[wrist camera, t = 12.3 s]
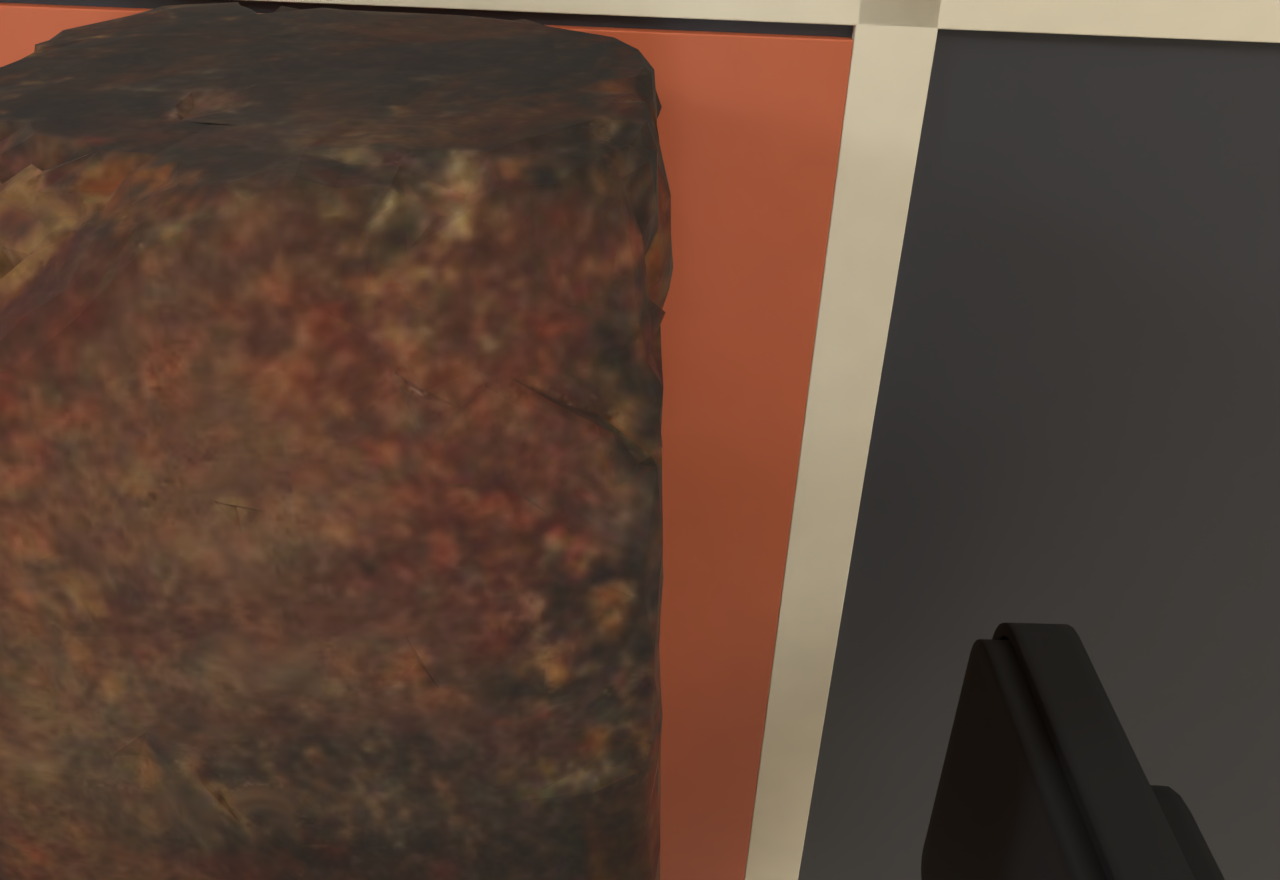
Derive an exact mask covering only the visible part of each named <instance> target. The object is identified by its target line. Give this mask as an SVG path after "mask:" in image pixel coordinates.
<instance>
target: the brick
mask: <svg viewBox="0 0 1280 880" xmlns="http://www.w3.org/2000/svg"><path fill="white" fill-rule="evenodd" d="M661 108H662V106H661V104H660V101H659V98H658V95H657V92H656V86H655V72H654V69H653V67H652V66H651V65H650V64H649V62H648V61H647V60H646V58H645V57H644V56H643V55H642V53H641V52H640V51H639V50H638V49H636V48H634V47H632V46H630V45H628V44H626V43H624V42H622V41H620V40H618V39H616V38H614V37H609V36H603V35H598V34H592V33H586V32H580V31H574V30H568V29H562V28H556V27H550V26H546V25H543V24H539V23H536V22H533V21H529V20H526V19H521V20H502V19H493V18H483V17H474V16H464V15H444V14H423V13H401V12H378V11H356V10H341V9H332V8H314V9H304V10H300V9H295V8H290V7H285V6H281V7H280V8H278V9H277V10H276V11H275V12H273V13H263V14H258V13H256V12H255V11H253V10H251V9H249V8H246V7H243V6H241V5H240V4H239V2H230V3H207V4H185V5H168V6H161V7H158V8H155V9H151V10H148V11H145V12H142V13H138V14H134V15H130V16H125V17H121V18H117V19H112V20H108V21H103V22H98V23H94V24H89V25H85V26H80V27H75V28H71V29H66V30H62V31H61V32H60V33H58V34H57V35H56V36H54V37H53V38H52V39H50V40H48V41H45V42H42V43H38V44H35V50H34V52H33V53H32V54H30V55H28V56H26V57H24V58H22V59H21V60H18V61H16V62H13V63H10V64H8V65H5V66H3V67H0V880H660V827H661V735H662V718H663V713H662V700H661V677H660V654H659V639H660V619H661V604H662V591H663V579H664V577H663V495H662V447H663V446H662V435H661V427H662V407H663V388H664V387H663V371H662V355H661V322H662V320H663V317H664V315H665V313H666V312H665V311H663V310H662V309H663V306H664V303H665V300H666V297H667V294H668V291H669V288H670V283H671V277H672V272H673V256H672V240H671V193H670V189H669V184H668V180H667V175H666V171H665V166H664V162H663V157H662V153H661V148H660V144H659V135H658V128H657V118H658V116H659V113H660V111H661Z"/></svg>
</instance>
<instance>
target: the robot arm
mask: <svg viewBox="0 0 1280 880" xmlns="http://www.w3.org/2000/svg"><path fill="white" fill-rule="evenodd" d="M921 880H1225V879H1224V877H1223V875H1222V873H1221V871H1220V869H1219V867H1218V865H1217V863H1216V861H1215V859H1214V857H1213V855H1212V853H1211V851H1210V849H1209V847H1208V845H1207V843H1206V841H1205V839H1204V837H1203V835H1202V833H1201V831H1200V829H1199V827H1198V825H1197V823H1196V821H1195V819H1194V817H1193V815H1192V813H1191V811H1190V810H1189V808H1188V807H1187V805H1186V804H1185V802H1184V801H1183V799H1182V797H1181V796H1180V795H1179V794H1178V793H1177V792H1175V791H1174V790H1173V789H1171V788H1170V787H1169V786H1160V785H1150V784H1149V782H1148V780H1147V777H1146V775H1145V773H1144V771H1143V769H1142V767H1141V765H1140V763H1139V761H1138V759H1137V757H1136V754H1135V752H1134V750H1133V748H1132V746H1131V744H1130V742H1129V740H1128V738H1127V736H1126V733H1125V731H1124V729H1123V727H1122V725H1121V723H1120V721H1119V719H1118V717H1117V715H1116V713H1115V710H1114V708H1113V706H1112V704H1111V702H1110V700H1109V698H1108V696H1107V694H1106V692H1105V690H1104V687H1103V685H1102V683H1101V681H1100V679H1099V677H1098V675H1097V673H1096V671H1095V669H1094V666H1093V664H1092V662H1091V660H1090V658H1089V656H1088V654H1087V652H1086V650H1085V648H1084V646H1083V643H1082V641H1081V639H1080V637H1079V635H1078V634H1077V632H1076V631H1075V629H1074V628H1073V627H1071V626H1070V625H1068V624H1042V623H1006V622H1005V623H1001V624H999V626H998V627H997V628H996V630H995V632H994V635H993V638H992V639H978V640H976V641H975V642H974V644H973V646H972V649H971V652H970V656H969V660H968V664H967V668H966V673H965V677H964V681H963V685H962V689H961V693H960V698H959V702H958V706H957V710H956V714H955V718H954V722H953V727H952V731H951V735H950V739H949V743H948V747H947V752H946V756H945V760H944V764H943V768H942V772H941V776H940V781H939V785H938V789H937V793H936V797H935V801H934V806H933V810H932V814H931V818H930V822H929V826H928V830H927V835H926V839H925V843H924V847H923V852H922V860H921Z"/></svg>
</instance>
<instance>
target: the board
mask: <svg viewBox="0 0 1280 880" xmlns="http://www.w3.org/2000/svg"><path fill="white" fill-rule="evenodd" d="M230 2H239V4H240V5H241V6H243V7H246V8H249V9H251V10H253V11H255V12H256V13H258V14H263V13H273V12H275V11H276V10H277V9H278V8H280V7H281V6H285V7H290V8H295V9H300V10H304V9H314V8H332V9H341V10H356V11H378V12H401V13H423V14H444V15H464V16H474V17H483V18H493V19H502V20H521V19H526V20H529V21H533V22H536V23H539V24H543V25H546V26H550V27H556V28H562V29H568V30H574V31H580V32H586V33H592V34H598V35H603V36H609V37H614V38H616V39H618V40H620V41H622V42H624V43H626V44H628V45H630V46H632V47H634V48H636V49H638V50H639V51H640V52H641V53H642V55H643V56H644V57H645V58H646V60H647V61H648V62H649V64H650V65H651V66H652V67H653V69H654V72H655V86H656V92H657V95H658V98H659V101H660V104H661V106H662V108H661V111H660V113H659V116H658V118H657V128H658V135H659V144H660V148H661V153H662V157H663V162H664V166H665V171H666V175H667V180H668V184H669V189H670V193H671V240H672V256H673V272H672V277H671V283H670V288H669V291H668V294H667V297H666V300H665V303H664V306H663V309H662V310H663V311H665V312H666V313H665V315H664V317H663V320H662V322H661V355H662V371H663V387H664V388H663V407H662V427H661V435H662V446H663V447H662V495H663V577H664V579H663V591H662V604H661V619H660V639H659V654H660V677H661V700H662V713H663V718H662V735H661V827H660V880H921V860H922V852H923V847H924V843H925V839H926V835H927V830H928V826H929V822H930V818H931V814H932V810H933V806H934V801H935V797H936V793H937V789H938V785H939V781H940V776H941V772H942V768H943V764H944V760H945V756H946V752H947V747H948V743H949V739H950V735H951V731H952V727H953V722H954V718H955V714H956V710H957V706H958V702H959V698H960V693H961V689H962V685H963V681H964V677H965V673H966V668H967V664H968V660H969V656H970V652H971V649H972V646H973V644H974V642H975V641H976V640H978V639H992V638H993V635H994V632H995V630H996V628H997V627H998V626H999V624H1001V623H1005V622H1006V623H1042V624H1068V625H1070V626H1071V627H1073V628H1074V629H1075V631H1076V632H1077V634H1078V635H1079V637H1080V639H1081V641H1082V643H1083V646H1084V648H1085V650H1086V652H1087V654H1088V656H1089V658H1090V660H1091V662H1092V664H1093V666H1094V669H1095V671H1096V673H1097V675H1098V677H1099V679H1100V681H1101V683H1102V685H1103V687H1104V690H1105V692H1106V694H1107V696H1108V698H1109V700H1110V702H1111V704H1112V706H1113V708H1114V710H1115V713H1116V715H1117V717H1118V719H1119V721H1120V723H1121V725H1122V727H1123V729H1124V731H1125V733H1126V736H1127V738H1128V740H1129V742H1130V744H1131V746H1132V748H1133V750H1134V752H1135V754H1136V757H1137V759H1138V761H1139V763H1140V765H1141V767H1142V769H1143V771H1144V773H1145V775H1146V777H1147V780H1148V782H1149V784H1150V785H1160V786H1169V787H1170V788H1171V789H1173V790H1174V791H1175V792H1177V793H1178V794H1179V795H1180V796H1181V797H1182V799H1183V801H1184V802H1185V804H1186V805H1187V807H1188V808H1189V810H1190V811H1191V813H1192V815H1193V817H1194V819H1195V821H1196V823H1197V825H1198V827H1199V829H1200V831H1201V833H1202V835H1203V837H1204V839H1205V841H1206V843H1207V845H1208V847H1209V849H1210V851H1211V853H1212V855H1213V857H1214V859H1215V861H1216V863H1217V865H1218V867H1219V869H1220V871H1221V873H1222V875H1223V877H1224V879H1225V880H1280V0H0V67H3V66H5V65H8V64H10V63H13V62H16V61H18V60H21V59H22V58H24V57H26V56H28V55H30V54H32V53H33V52H34V50H35V44H38V43H42V42H45V41H48V40H50V39H52V38H53V37H54V36H56V35H57V34H58V33H60V32H61V31H62V30H66V29H71V28H75V27H80V26H85V25H89V24H94V23H98V22H103V21H108V20H112V19H117V18H121V17H125V16H130V15H134V14H138V13H142V12H145V11H148V10H151V9H155V8H158V7H161V6H168V5H185V4H207V3H230Z"/></svg>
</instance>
